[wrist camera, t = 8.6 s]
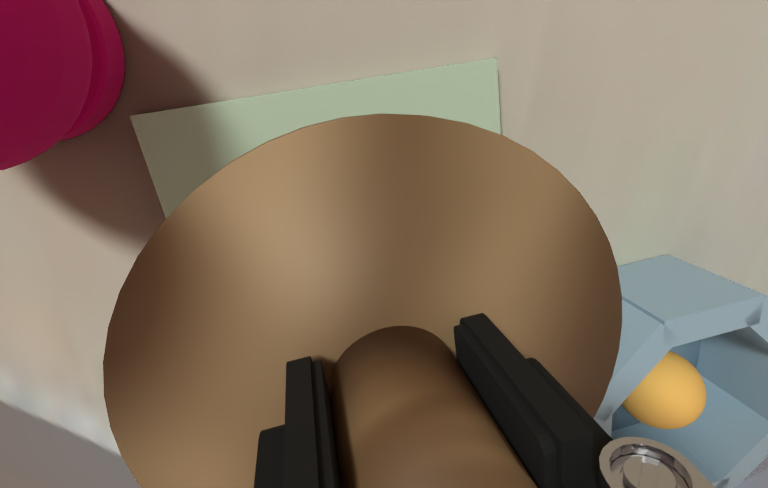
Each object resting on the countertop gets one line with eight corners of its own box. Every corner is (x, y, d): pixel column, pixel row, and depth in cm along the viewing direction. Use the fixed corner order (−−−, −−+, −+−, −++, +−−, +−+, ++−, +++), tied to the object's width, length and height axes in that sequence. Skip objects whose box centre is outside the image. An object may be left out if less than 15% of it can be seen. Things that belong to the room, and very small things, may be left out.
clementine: (663, 326, 23) (733, 369, 19) (657, 384, 24) (722, 435, 21) (598, 343, 23) (657, 391, 19) (596, 401, 24) (651, 456, 20)
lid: (609, 71, 10) (1009, 31, 4) (596, 472, 14) (785, 702, 9) (15, 173, 8) (-588, 324, 2) (211, 596, 12) (147, 983, 7)
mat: (490, 58, 17) (496, 57, 17) (506, 343, 22) (511, 350, 22) (135, 115, 15) (129, 115, 15) (238, 412, 20) (237, 421, 20)
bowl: (725, 240, 23) (835, 276, 18) (700, 412, 27) (783, 477, 22) (521, 289, 21) (585, 342, 17) (528, 464, 25) (580, 545, 21)
